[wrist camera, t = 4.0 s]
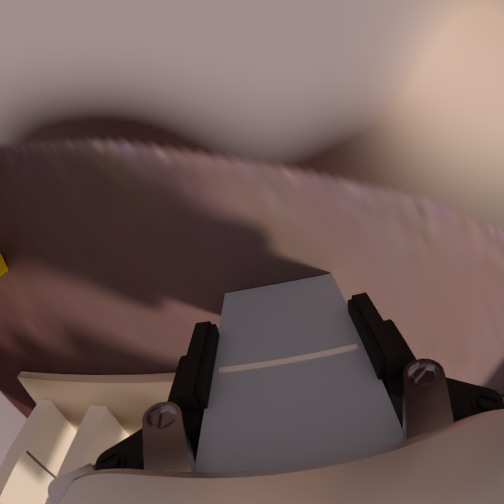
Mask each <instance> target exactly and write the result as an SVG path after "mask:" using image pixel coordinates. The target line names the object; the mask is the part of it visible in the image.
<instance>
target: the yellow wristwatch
mask: <svg viewBox="0 0 504 504" xmlns="http://www.w3.org/2000/svg"><path fill="white" fill-rule="evenodd" d="M7 271H8V267H7V265H6V263H5V261H4V259H3V257H2V255H1V253H0V276H2V275H3V274H4V273H6V272H7Z"/></svg>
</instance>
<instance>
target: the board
mask: <svg viewBox="0 0 504 504" xmlns="http://www.w3.org/2000/svg"><path fill="white" fill-rule="evenodd" d="M175 374H176V372H175V373H158V374H135V375H72V374H50V373H35V372H23V371H21V373H20V374H19V375H18V376H17V378H18V379H19V381H20V382H21V384H22V385H23V386H24V388H25V389H26V391H27V392H28V393H29V395H30V396H31V397H32V399H33V400H34V401H35V402H36V404H37V403H38V402H39V400H40V399H42V400H49V401H52V402H53V403H54V404H55V406H56V407H57V408H58V410H59V411H60V412H61V413H62V415H63V416H64V417H65V418H66V419H67V421H68V422H69V423H70V424H71V425H72V427H73V428H74V429H75V430H76V431H78V428H79V426H80V424H81V422H82V420H83V418H84V416H85V414H86V412H87V410H88V408H89V406H90V405H96V406H107V407H108V409H109V410H110V411H111V413H112V414H113V415H114V417H115V418H116V419H117V421H118V422H119V423H120V425H121V426H122V427H123V428H124V430H125V431H126V432H127V433H128V435H129V436H130V435H132V434H133V433H135V432H137V431H138V430H140V429H141V428H142V419H143V415H144V413H145V412H146V411H147V410H148V409H149V408H150V407H151V406H153V405H154V404H157V403H160V402H167V400H168V397H169V394H170V390H171V387H172V383H173V380H174V377H175Z"/></svg>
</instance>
